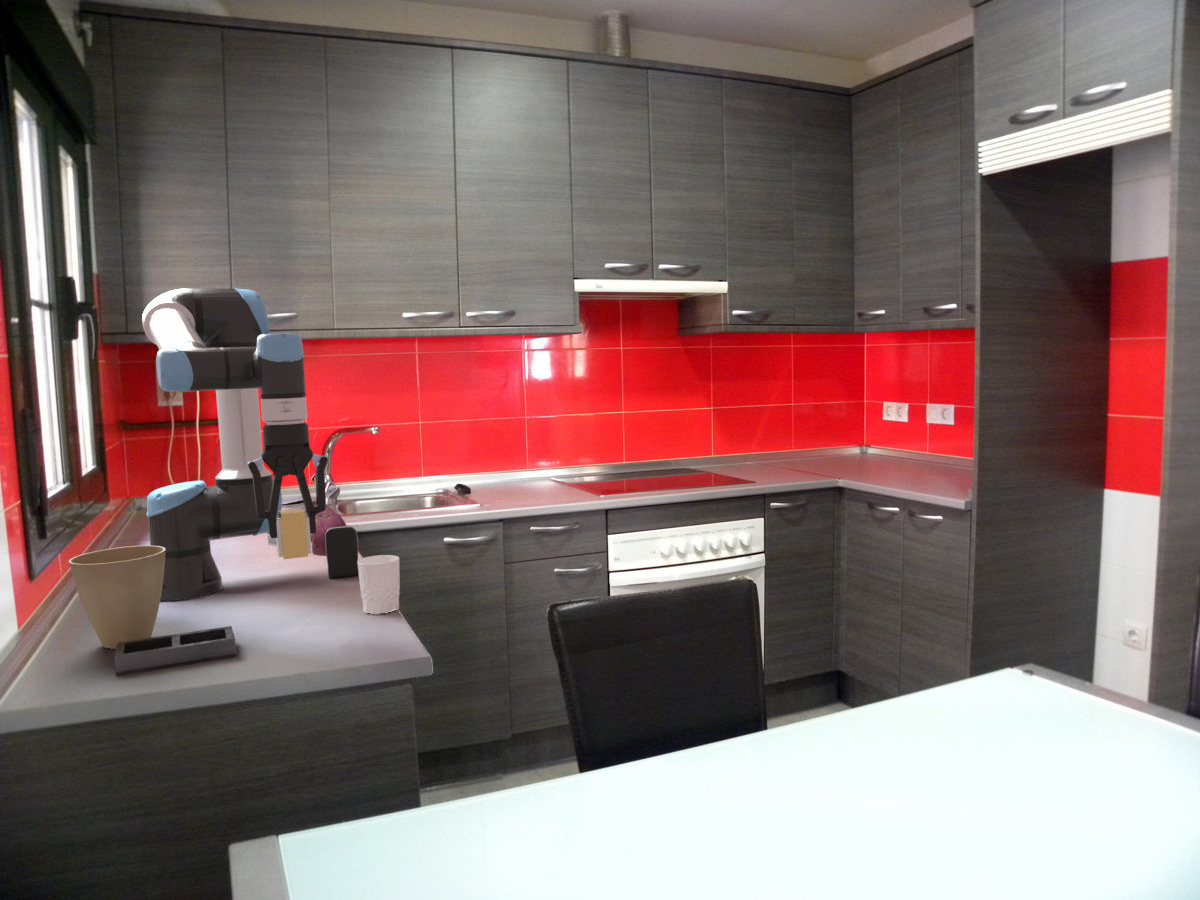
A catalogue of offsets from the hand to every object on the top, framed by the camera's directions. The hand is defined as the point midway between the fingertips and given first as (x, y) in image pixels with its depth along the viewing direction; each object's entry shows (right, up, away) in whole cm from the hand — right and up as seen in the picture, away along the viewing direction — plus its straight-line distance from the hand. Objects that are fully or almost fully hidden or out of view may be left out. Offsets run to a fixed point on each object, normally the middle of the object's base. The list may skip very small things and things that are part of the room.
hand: (294, 553), depth 159 cm
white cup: (+12, -13, +15) cm, 23 cm away
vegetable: (-15, -8, +71) cm, 73 cm away
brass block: (0, 0, 0) cm, 0 cm away
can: (-31, -7, +86) cm, 92 cm away
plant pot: (-29, -16, -1) cm, 33 cm away
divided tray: (-16, -16, -10) cm, 25 cm away
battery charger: (-4, -10, +44) cm, 45 cm away
